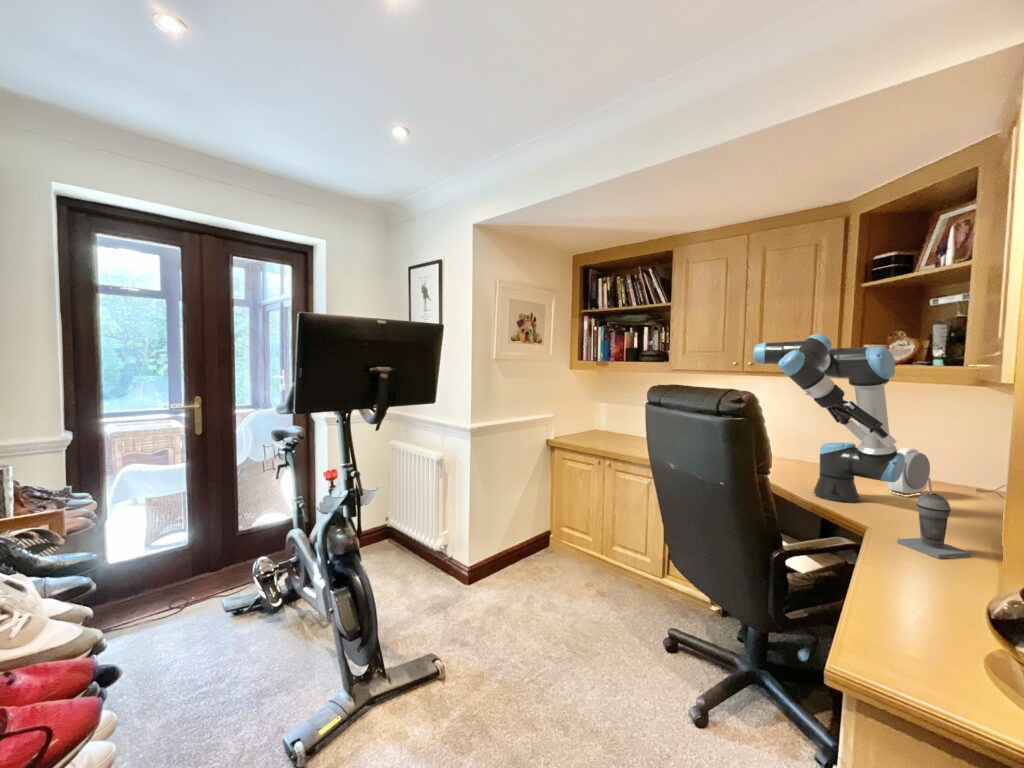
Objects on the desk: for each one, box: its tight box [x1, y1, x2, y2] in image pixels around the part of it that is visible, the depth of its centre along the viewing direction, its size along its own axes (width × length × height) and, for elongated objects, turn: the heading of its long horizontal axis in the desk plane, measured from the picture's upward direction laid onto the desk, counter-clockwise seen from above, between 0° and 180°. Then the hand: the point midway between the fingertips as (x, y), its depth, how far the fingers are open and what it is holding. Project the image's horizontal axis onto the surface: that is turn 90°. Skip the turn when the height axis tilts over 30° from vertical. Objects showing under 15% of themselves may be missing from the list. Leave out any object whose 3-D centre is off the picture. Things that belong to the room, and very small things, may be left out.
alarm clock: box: [886, 447, 931, 495], centre depth 181 cm, size 18×8×20 cm, turn 110°
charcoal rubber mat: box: [896, 537, 972, 559], centre depth 124 cm, size 11×11×1 cm
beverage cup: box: [916, 477, 952, 549], centre depth 124 cm, size 7×7×20 cm
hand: (877, 440), depth 129 cm, fingers open, 13 cm apart
